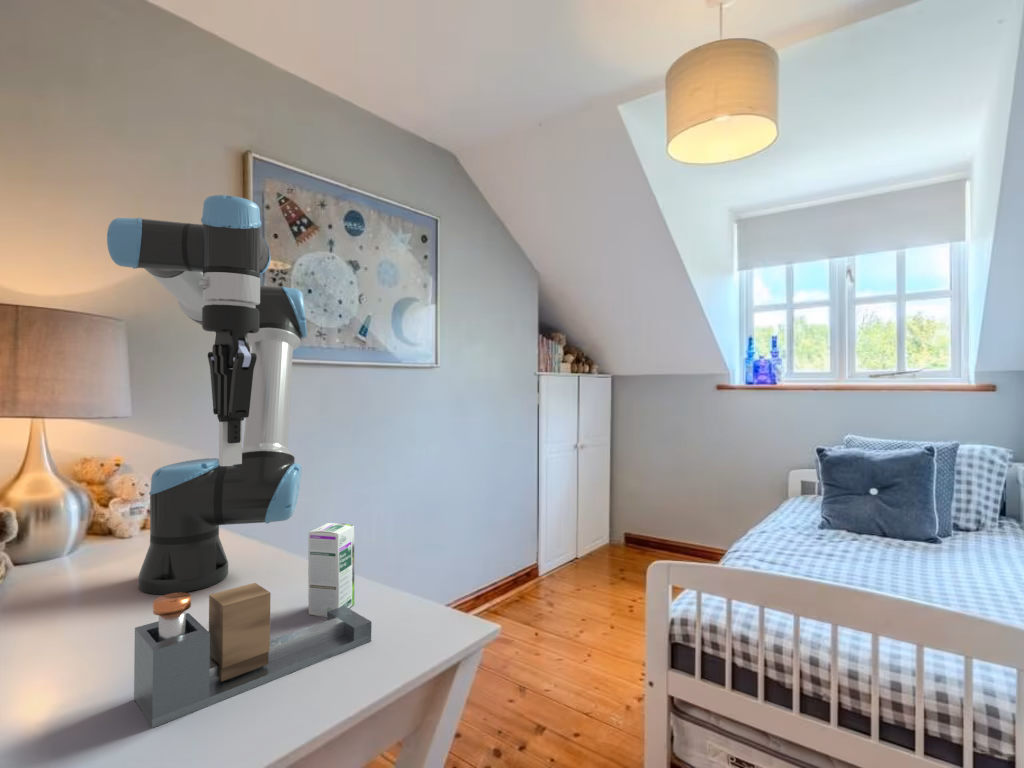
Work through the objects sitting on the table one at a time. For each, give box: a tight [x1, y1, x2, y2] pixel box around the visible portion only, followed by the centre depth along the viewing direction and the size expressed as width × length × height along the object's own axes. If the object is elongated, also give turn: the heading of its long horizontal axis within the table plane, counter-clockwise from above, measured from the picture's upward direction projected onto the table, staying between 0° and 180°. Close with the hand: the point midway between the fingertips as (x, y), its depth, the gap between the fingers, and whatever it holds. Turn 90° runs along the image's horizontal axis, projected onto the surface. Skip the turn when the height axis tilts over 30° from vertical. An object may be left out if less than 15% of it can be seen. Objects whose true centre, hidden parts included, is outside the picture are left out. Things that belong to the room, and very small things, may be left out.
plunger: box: [152, 592, 192, 642], centre depth 67 cm, size 4×4×10 cm
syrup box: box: [307, 522, 355, 618], centre depth 94 cm, size 6×6×14 cm
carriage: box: [208, 582, 271, 682], centre depth 73 cm, size 5×6×10 cm
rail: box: [133, 606, 372, 729], centre depth 75 cm, size 8×29×9 cm, turn 137°
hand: (230, 463), depth 81 cm, fingers closed
